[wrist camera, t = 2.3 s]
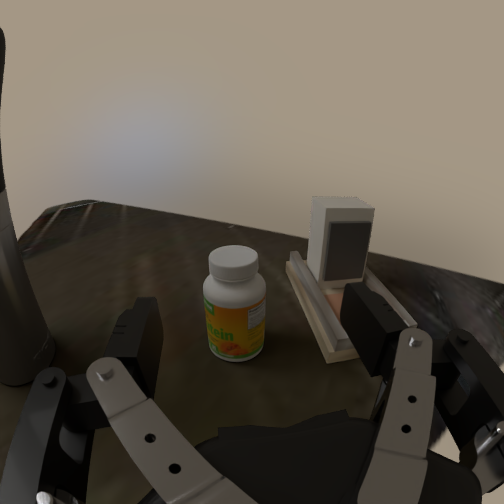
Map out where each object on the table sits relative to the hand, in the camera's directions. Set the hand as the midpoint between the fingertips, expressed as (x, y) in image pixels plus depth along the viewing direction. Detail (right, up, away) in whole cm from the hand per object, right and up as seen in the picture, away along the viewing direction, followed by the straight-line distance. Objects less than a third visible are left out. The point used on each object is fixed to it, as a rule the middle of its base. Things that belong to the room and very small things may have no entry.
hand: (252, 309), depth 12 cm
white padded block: (+10, -1, +24) cm, 26 cm away
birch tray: (+11, -4, +21) cm, 24 cm away
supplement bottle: (-2, -7, +16) cm, 17 cm away
